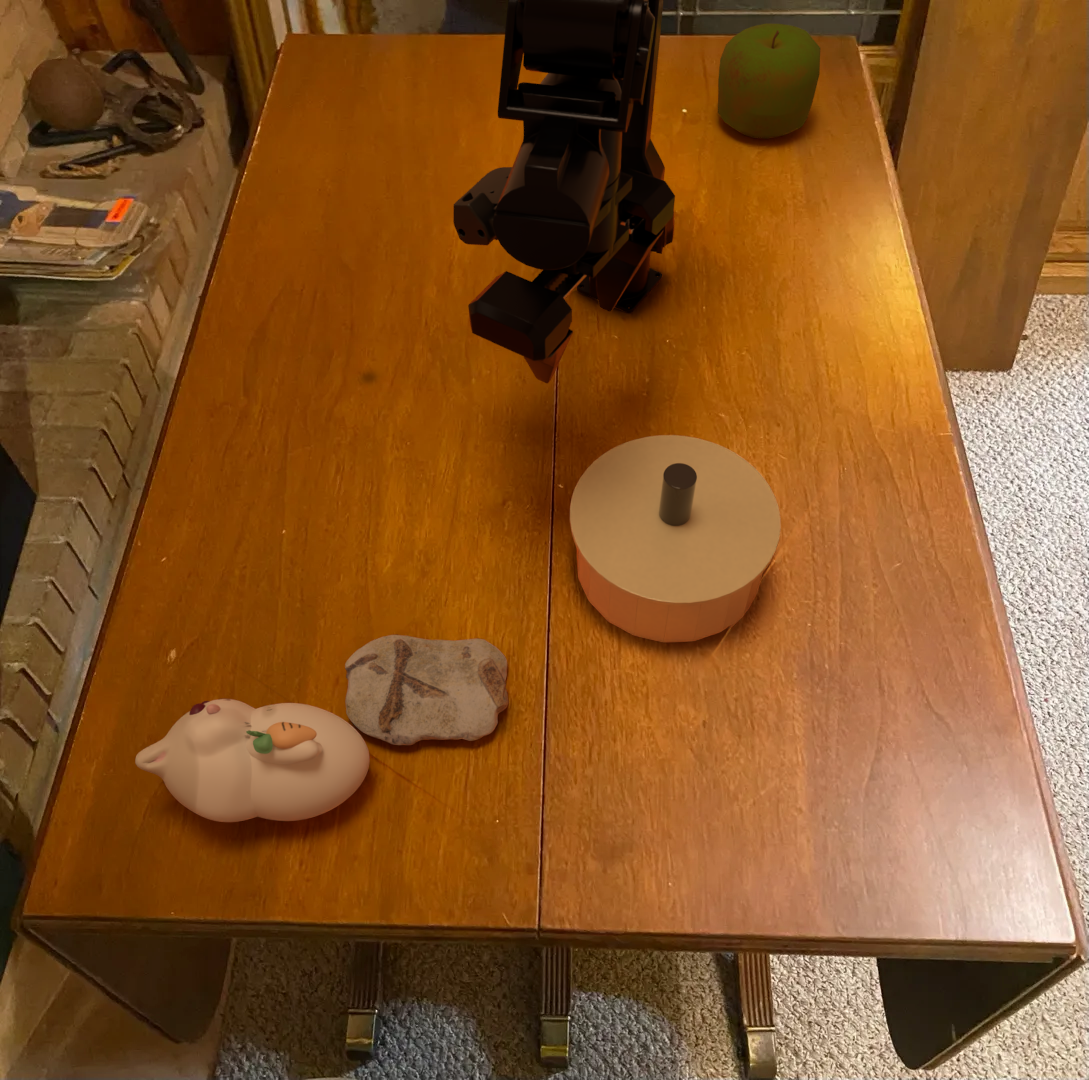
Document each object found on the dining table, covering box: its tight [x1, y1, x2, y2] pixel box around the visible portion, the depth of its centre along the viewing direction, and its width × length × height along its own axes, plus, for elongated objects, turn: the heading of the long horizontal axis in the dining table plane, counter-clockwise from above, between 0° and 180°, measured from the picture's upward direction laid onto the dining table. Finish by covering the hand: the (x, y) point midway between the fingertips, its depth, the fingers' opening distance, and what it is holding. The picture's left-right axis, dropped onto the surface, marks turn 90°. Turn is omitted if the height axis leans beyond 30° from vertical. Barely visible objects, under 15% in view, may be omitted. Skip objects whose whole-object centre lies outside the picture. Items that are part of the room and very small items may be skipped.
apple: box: [717, 22, 821, 140], centre depth 114 cm, size 11×11×11 cm
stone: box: [344, 634, 510, 746], centre depth 74 cm, size 12×9×3 cm
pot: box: [576, 548, 764, 643], centre depth 80 cm, size 15×15×6 cm
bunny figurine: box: [134, 698, 371, 823], centre depth 69 cm, size 10×8×15 cm
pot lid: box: [569, 434, 782, 606], centre depth 75 cm, size 16×16×6 cm
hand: (575, 343), depth 79 cm, fingers open, 9 cm apart
